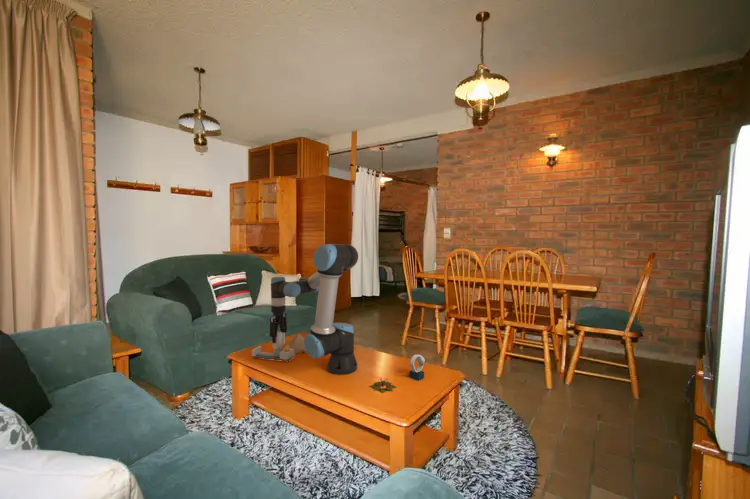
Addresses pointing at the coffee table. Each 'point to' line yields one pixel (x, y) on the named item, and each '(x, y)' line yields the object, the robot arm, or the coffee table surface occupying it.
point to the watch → (417, 373)
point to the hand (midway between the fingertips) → (278, 346)
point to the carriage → (277, 351)
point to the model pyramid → (297, 344)
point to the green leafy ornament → (383, 383)
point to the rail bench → (283, 354)
